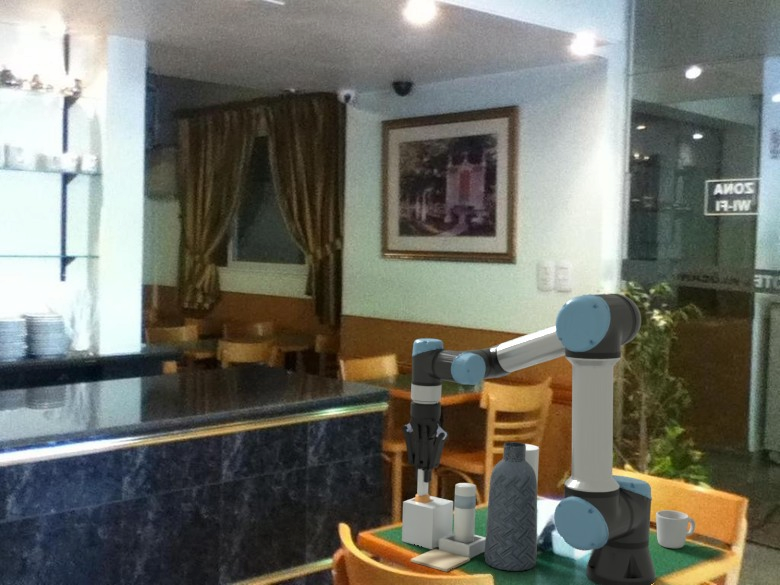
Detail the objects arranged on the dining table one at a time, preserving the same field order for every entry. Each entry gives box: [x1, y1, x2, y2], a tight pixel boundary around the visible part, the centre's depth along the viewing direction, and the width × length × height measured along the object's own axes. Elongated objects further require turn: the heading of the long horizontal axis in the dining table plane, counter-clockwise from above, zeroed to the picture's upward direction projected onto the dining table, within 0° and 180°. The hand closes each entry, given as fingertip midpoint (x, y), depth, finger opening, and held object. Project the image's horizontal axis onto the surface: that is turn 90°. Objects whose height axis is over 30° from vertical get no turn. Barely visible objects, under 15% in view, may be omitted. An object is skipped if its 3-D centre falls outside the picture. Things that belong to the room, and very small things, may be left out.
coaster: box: [410, 548, 471, 573], centre depth 223 cm, size 10×10×1 cm
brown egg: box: [414, 493, 431, 504], centre depth 238 cm, size 4×4×6 cm
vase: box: [484, 441, 538, 572], centre depth 222 cm, size 12×12×28 cm
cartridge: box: [453, 482, 477, 545], centre depth 231 cm, size 5×5×16 cm
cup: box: [655, 509, 696, 549], centre depth 240 cm, size 11×8×8 cm
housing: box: [401, 495, 486, 559], centre depth 234 cm, size 20×9×10 cm, turn 53°
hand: (422, 494), depth 238 cm, fingers closed
